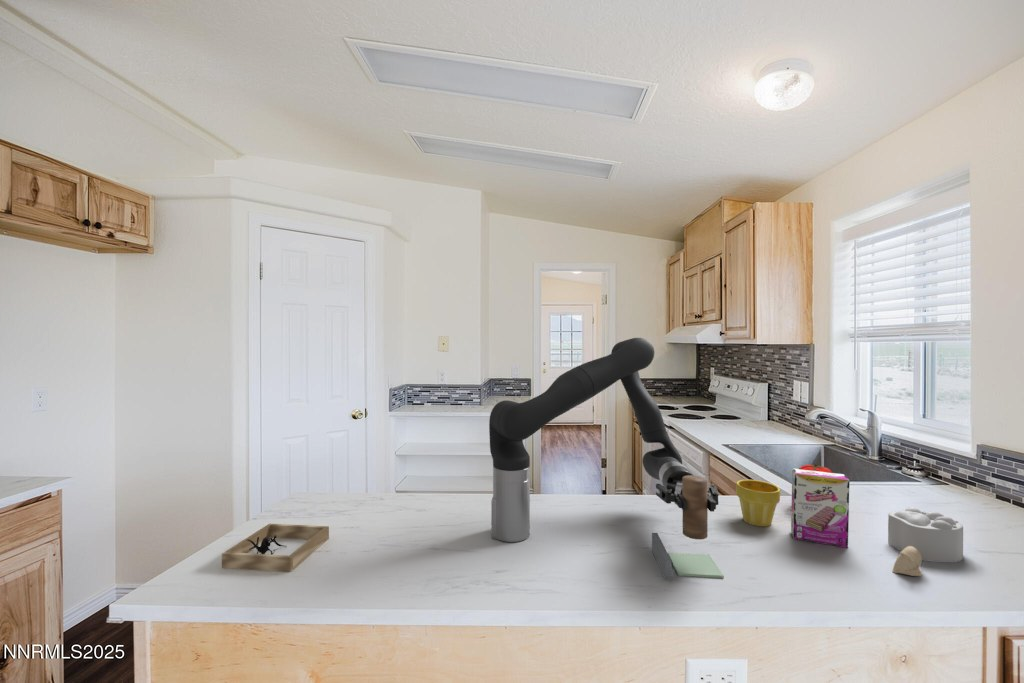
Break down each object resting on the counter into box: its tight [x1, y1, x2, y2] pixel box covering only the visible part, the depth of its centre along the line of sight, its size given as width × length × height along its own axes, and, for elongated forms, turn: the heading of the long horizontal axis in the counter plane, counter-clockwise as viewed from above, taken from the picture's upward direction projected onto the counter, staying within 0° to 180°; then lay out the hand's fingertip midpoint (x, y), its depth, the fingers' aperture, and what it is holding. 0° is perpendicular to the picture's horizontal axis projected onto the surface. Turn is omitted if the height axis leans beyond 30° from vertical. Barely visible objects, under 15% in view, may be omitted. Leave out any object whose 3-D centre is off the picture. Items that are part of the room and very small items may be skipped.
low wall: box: [651, 532, 672, 581], centre depth 97 cm, size 1×13×4 cm, turn 174°
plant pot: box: [735, 479, 781, 527], centre depth 119 cm, size 10×10×10 cm
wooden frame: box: [221, 523, 330, 573], centre depth 102 cm, size 16×16×3 cm
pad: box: [667, 551, 725, 579], centre depth 96 cm, size 9×9×1 cm
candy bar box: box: [790, 468, 850, 549], centre depth 108 cm, size 11×5×16 cm, turn 65°
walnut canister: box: [682, 474, 709, 540], centre depth 96 cm, size 5×5×12 cm
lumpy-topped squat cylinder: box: [887, 506, 964, 563], centre depth 103 cm, size 10×13×9 cm
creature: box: [247, 530, 287, 555], centre depth 102 cm, size 8×5×8 cm
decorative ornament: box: [891, 546, 923, 577], centre depth 93 cm, size 4×8×5 cm, turn 125°
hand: (698, 506), depth 93 cm, fingers closed on walnut canister, 5 cm apart
